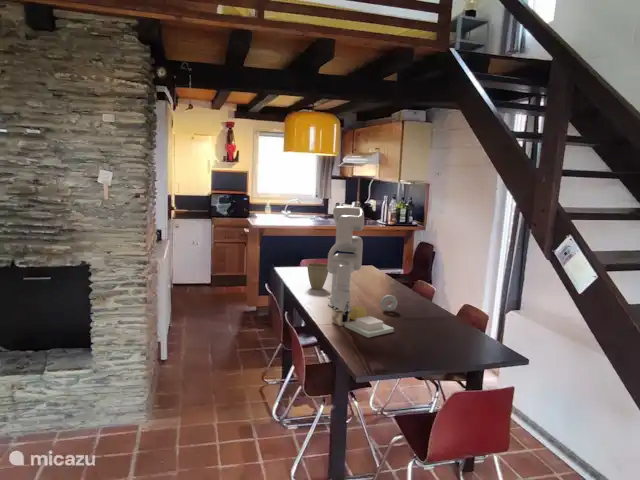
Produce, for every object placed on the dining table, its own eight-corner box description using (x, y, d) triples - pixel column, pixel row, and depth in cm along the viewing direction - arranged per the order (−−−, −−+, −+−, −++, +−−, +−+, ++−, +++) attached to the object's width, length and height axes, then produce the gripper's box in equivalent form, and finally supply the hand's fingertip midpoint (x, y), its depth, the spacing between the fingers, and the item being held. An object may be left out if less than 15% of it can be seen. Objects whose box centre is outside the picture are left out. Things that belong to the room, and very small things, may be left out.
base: (344, 326, 253) (345, 317, 253) (369, 321, 264) (370, 312, 263) (367, 337, 239) (368, 328, 238) (393, 331, 250) (394, 322, 249)
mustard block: (349, 317, 268) (349, 306, 267) (357, 316, 272) (358, 305, 271) (356, 321, 263) (357, 309, 262) (365, 319, 267) (366, 308, 266)
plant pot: (327, 291, 320) (329, 268, 317) (305, 290, 320) (306, 266, 317) (328, 286, 335) (329, 263, 332) (306, 284, 335) (307, 262, 332)
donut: (380, 312, 283) (382, 295, 281) (379, 310, 286) (380, 293, 284) (397, 312, 284) (398, 295, 282) (395, 310, 287) (397, 294, 286)
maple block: (331, 322, 259) (332, 310, 258) (341, 320, 263) (342, 308, 262) (339, 325, 254) (340, 314, 253) (349, 323, 258) (349, 312, 256)
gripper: (327, 283, 259) (324, 315, 262) (347, 292, 246) (345, 325, 249) (337, 282, 264) (335, 313, 267) (358, 290, 250) (356, 323, 253)
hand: (340, 319), depth 258 cm, fingers closed on maple block, 6 cm apart
